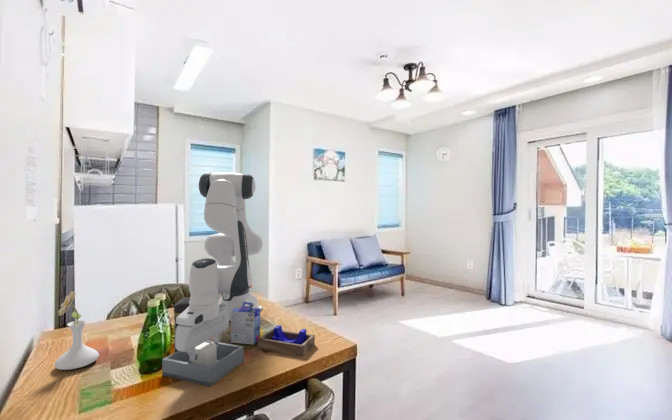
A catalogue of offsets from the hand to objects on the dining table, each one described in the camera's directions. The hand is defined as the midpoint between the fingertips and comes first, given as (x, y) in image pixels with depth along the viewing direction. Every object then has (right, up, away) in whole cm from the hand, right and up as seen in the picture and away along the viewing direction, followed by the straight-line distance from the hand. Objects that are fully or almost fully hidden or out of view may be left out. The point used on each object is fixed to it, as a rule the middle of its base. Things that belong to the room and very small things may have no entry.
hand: (204, 353), depth 104 cm
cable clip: (+25, -5, +17) cm, 30 cm away
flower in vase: (-42, -5, +1) cm, 42 cm away
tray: (0, -5, 0) cm, 5 cm away
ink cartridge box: (+8, -5, +21) cm, 23 cm away
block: (0, -4, 0) cm, 4 cm away
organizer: (+24, -4, +16) cm, 29 cm away
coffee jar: (-11, -5, +13) cm, 18 cm away
